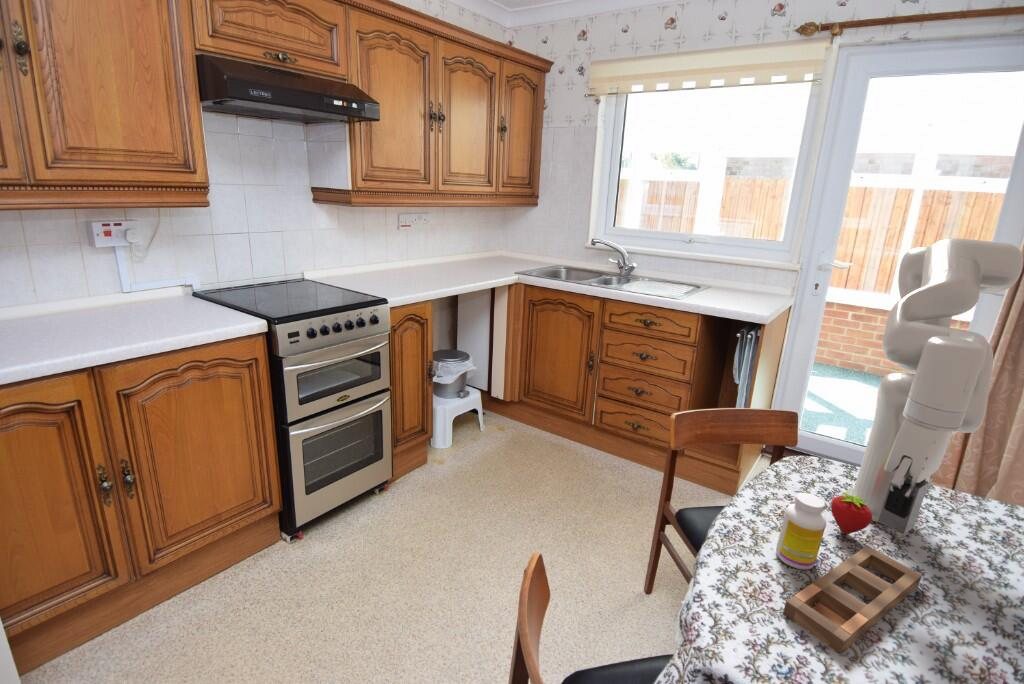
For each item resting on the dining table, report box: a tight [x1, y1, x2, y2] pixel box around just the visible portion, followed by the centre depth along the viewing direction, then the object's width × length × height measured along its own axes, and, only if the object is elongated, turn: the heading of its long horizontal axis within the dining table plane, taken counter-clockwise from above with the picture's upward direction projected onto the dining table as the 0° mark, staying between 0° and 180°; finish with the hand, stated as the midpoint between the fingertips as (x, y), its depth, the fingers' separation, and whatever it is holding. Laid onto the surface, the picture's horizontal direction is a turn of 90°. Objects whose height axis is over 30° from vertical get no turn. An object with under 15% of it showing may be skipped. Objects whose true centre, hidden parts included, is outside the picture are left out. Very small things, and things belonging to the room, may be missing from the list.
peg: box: [877, 475, 930, 535], centre depth 91 cm, size 4×4×9 cm
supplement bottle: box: [775, 492, 827, 570], centre depth 98 cm, size 7×7×13 cm
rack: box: [782, 545, 923, 655], centre depth 91 cm, size 28×9×3 cm, turn 124°
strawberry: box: [830, 491, 873, 535], centre depth 107 cm, size 6×8×10 cm
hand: (901, 508), depth 92 cm, fingers closed on peg, 4 cm apart
